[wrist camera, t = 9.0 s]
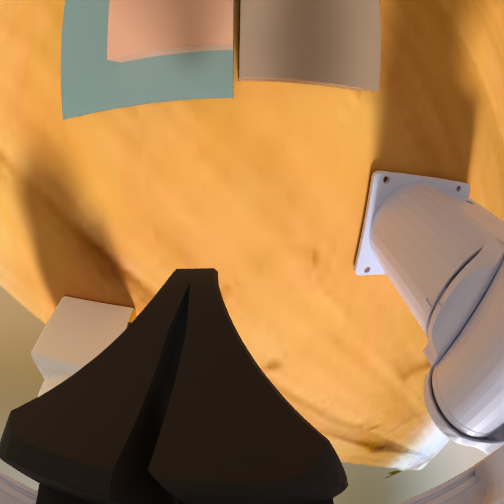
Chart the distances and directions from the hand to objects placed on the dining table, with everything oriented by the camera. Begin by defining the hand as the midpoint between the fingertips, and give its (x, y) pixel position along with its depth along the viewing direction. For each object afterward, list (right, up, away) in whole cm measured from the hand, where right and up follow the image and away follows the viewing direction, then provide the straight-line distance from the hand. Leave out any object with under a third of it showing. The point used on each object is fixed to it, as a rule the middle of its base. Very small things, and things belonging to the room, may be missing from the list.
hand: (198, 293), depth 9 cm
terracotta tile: (-2, +15, 0) cm, 16 cm away
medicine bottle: (-12, -6, +14) cm, 19 cm away
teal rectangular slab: (-4, +16, +1) cm, 16 cm away
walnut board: (+5, +16, +2) cm, 17 cm away
